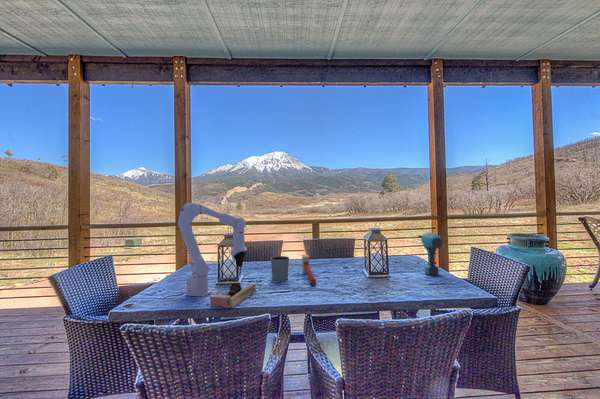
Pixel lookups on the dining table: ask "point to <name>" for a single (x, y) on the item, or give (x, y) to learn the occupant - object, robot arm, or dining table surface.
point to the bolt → (234, 289)
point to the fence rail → (241, 295)
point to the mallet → (307, 269)
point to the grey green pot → (280, 268)
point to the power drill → (431, 251)
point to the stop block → (220, 300)
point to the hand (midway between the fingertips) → (239, 266)
